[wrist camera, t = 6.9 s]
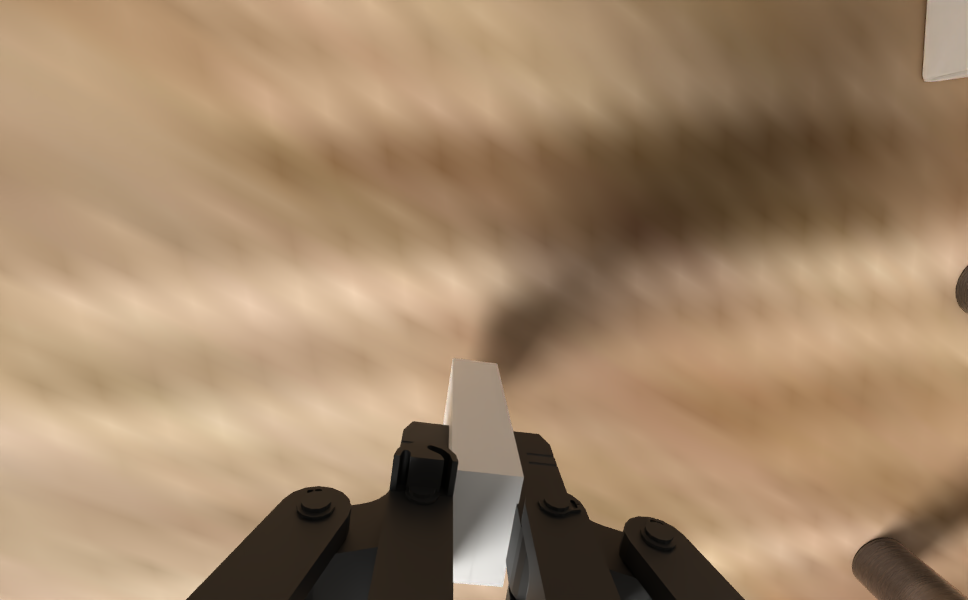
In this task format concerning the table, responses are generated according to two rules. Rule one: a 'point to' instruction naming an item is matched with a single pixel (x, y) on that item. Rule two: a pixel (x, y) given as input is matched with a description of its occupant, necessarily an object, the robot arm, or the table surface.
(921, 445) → the table surface
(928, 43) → the ink cartridge box
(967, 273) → the post
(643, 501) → the table surface
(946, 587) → the post
